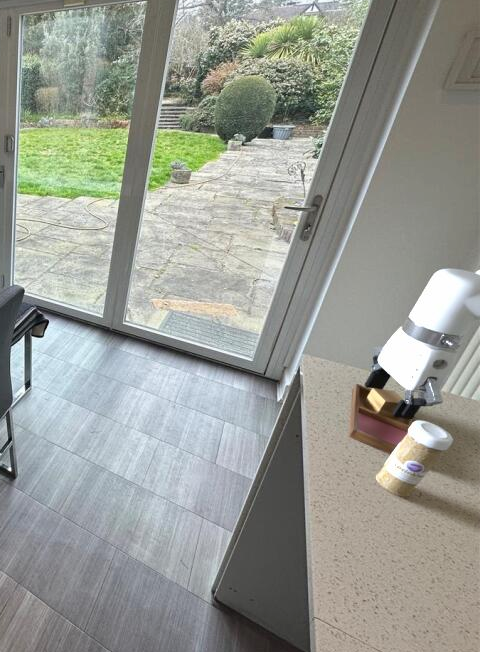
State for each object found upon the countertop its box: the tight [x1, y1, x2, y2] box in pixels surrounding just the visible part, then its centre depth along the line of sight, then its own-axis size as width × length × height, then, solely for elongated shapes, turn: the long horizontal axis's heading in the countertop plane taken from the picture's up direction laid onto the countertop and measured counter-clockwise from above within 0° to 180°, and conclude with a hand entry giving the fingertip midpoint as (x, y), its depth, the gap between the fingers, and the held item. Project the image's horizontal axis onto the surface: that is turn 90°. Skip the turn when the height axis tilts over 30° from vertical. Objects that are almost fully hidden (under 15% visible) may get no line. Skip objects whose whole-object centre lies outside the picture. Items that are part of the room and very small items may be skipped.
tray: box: [348, 383, 416, 455], centre depth 83 cm, size 9×18×2 cm, turn 138°
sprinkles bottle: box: [375, 420, 454, 498], centre depth 68 cm, size 5×5×14 cm
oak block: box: [364, 388, 404, 419], centre depth 85 cm, size 4×4×4 cm
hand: (386, 401), depth 85 cm, fingers open, 8 cm apart
